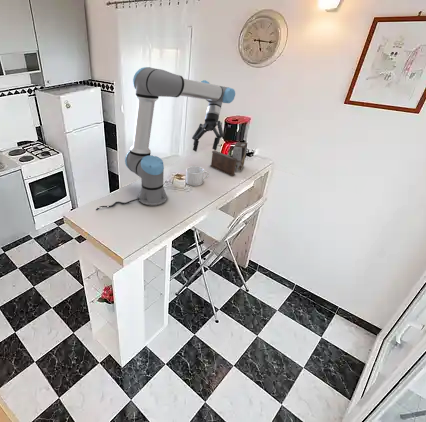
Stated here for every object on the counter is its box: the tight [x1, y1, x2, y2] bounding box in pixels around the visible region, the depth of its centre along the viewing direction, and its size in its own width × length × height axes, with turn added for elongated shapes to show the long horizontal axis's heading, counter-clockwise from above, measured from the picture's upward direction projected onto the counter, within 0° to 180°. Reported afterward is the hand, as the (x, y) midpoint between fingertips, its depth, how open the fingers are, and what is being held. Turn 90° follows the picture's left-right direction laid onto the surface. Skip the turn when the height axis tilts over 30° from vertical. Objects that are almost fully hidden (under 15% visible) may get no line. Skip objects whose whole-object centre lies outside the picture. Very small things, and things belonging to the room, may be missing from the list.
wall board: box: [209, 149, 237, 177], centre depth 183 cm, size 18×3×11 cm, turn 32°
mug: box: [185, 165, 210, 187], centre depth 172 cm, size 13×10×8 cm
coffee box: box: [231, 141, 248, 173], centre depth 183 cm, size 9×6×16 cm
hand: (204, 150), depth 166 cm, fingers open, 13 cm apart
